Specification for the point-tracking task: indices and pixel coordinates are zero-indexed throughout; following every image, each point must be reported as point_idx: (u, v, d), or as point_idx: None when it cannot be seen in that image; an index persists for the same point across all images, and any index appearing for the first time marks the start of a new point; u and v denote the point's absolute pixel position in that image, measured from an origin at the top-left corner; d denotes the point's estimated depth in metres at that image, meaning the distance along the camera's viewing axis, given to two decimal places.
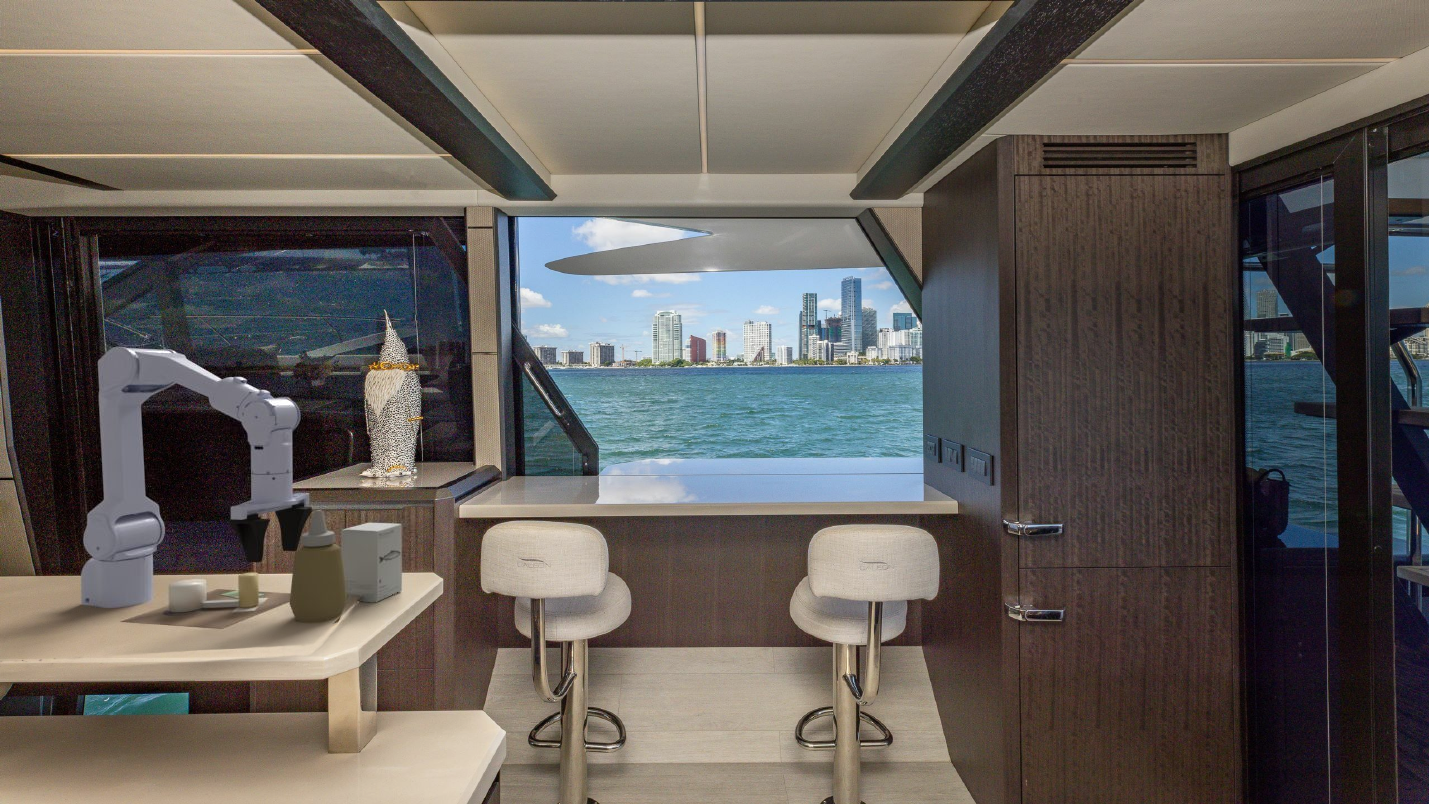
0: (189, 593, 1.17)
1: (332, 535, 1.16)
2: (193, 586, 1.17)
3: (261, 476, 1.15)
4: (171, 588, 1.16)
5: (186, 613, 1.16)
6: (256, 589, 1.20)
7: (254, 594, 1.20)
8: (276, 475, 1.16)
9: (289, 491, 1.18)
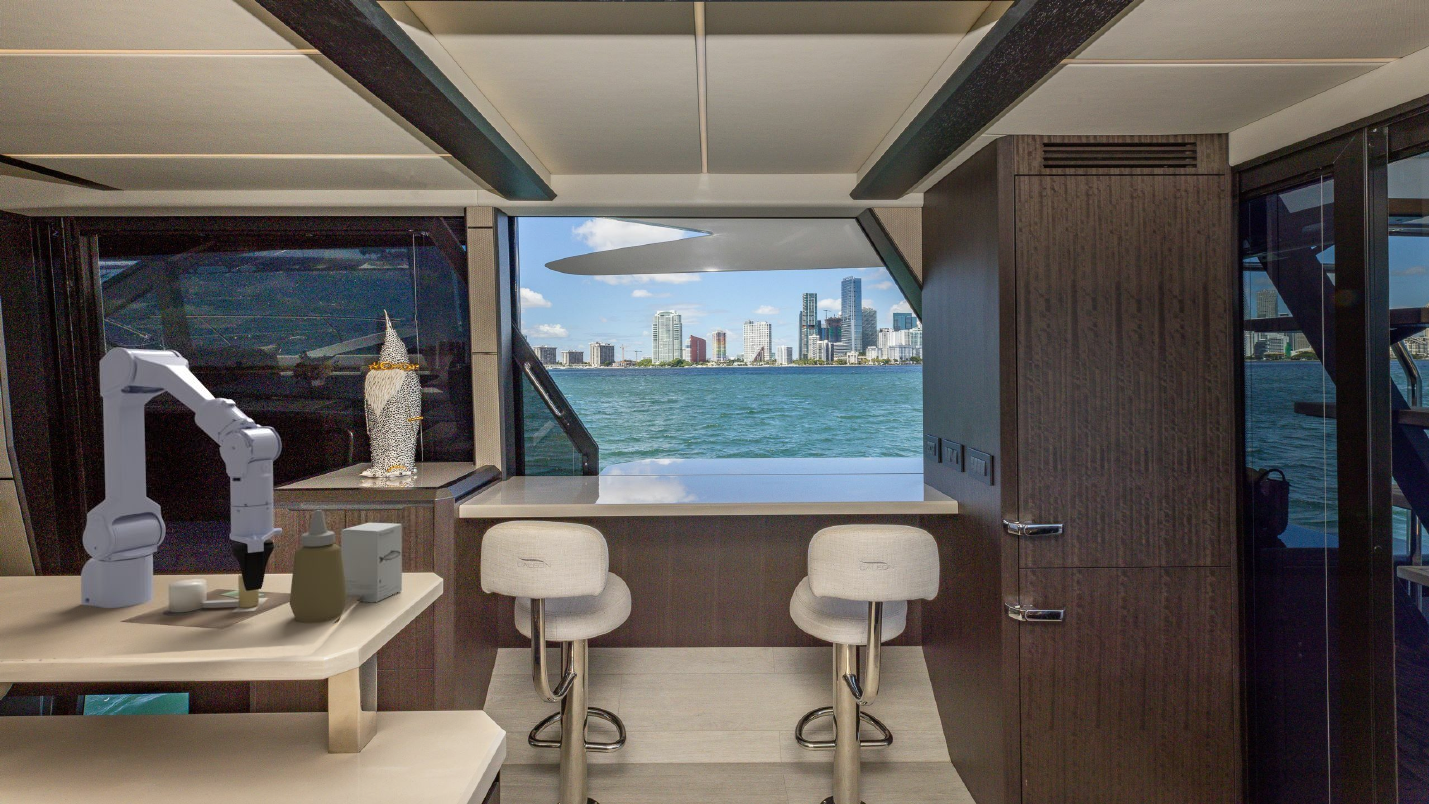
0: (189, 593, 1.17)
1: (332, 535, 1.16)
2: (193, 586, 1.17)
3: (257, 507, 1.14)
4: (171, 588, 1.16)
5: (186, 613, 1.16)
6: None
7: (254, 594, 1.20)
8: (270, 505, 1.15)
9: None
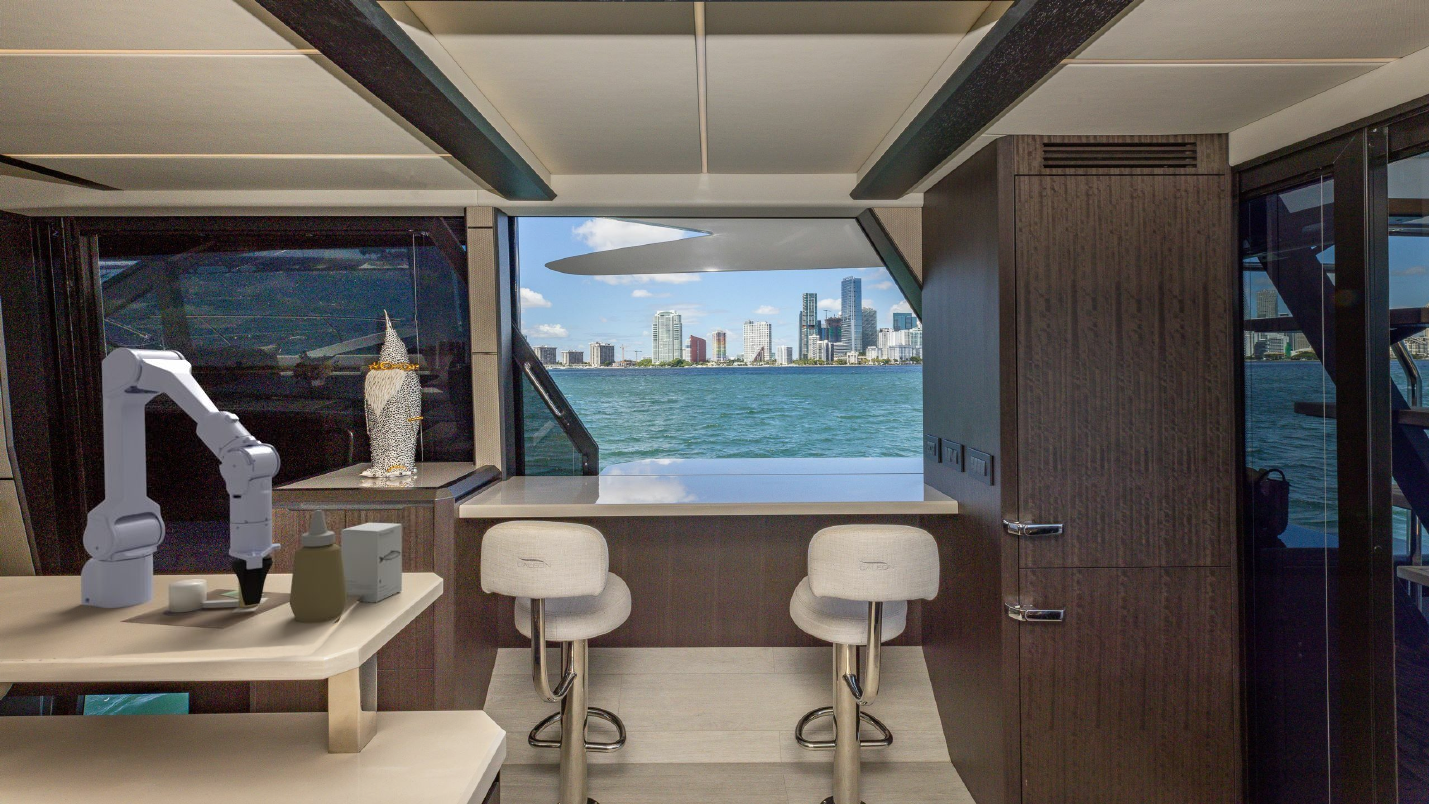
0: (189, 593, 1.17)
1: (332, 535, 1.16)
2: (193, 586, 1.17)
3: (255, 524, 1.16)
4: (171, 588, 1.16)
5: (186, 613, 1.16)
6: None
7: None
8: (268, 521, 1.18)
9: None
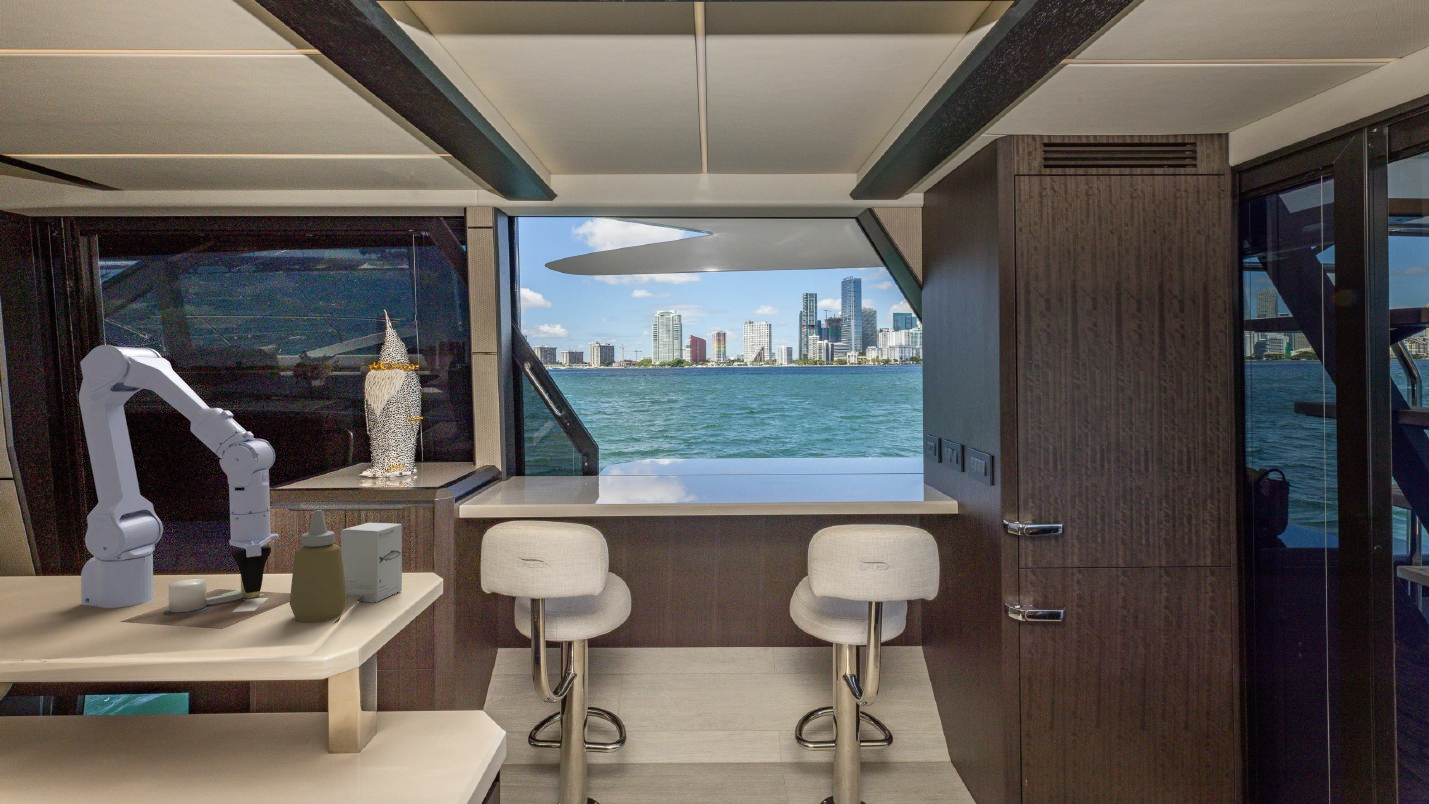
0: (201, 591, 1.18)
1: (332, 535, 1.16)
2: (203, 583, 1.19)
3: (254, 515, 1.22)
4: (181, 588, 1.16)
5: (186, 613, 1.16)
6: None
7: None
8: (266, 512, 1.23)
9: None
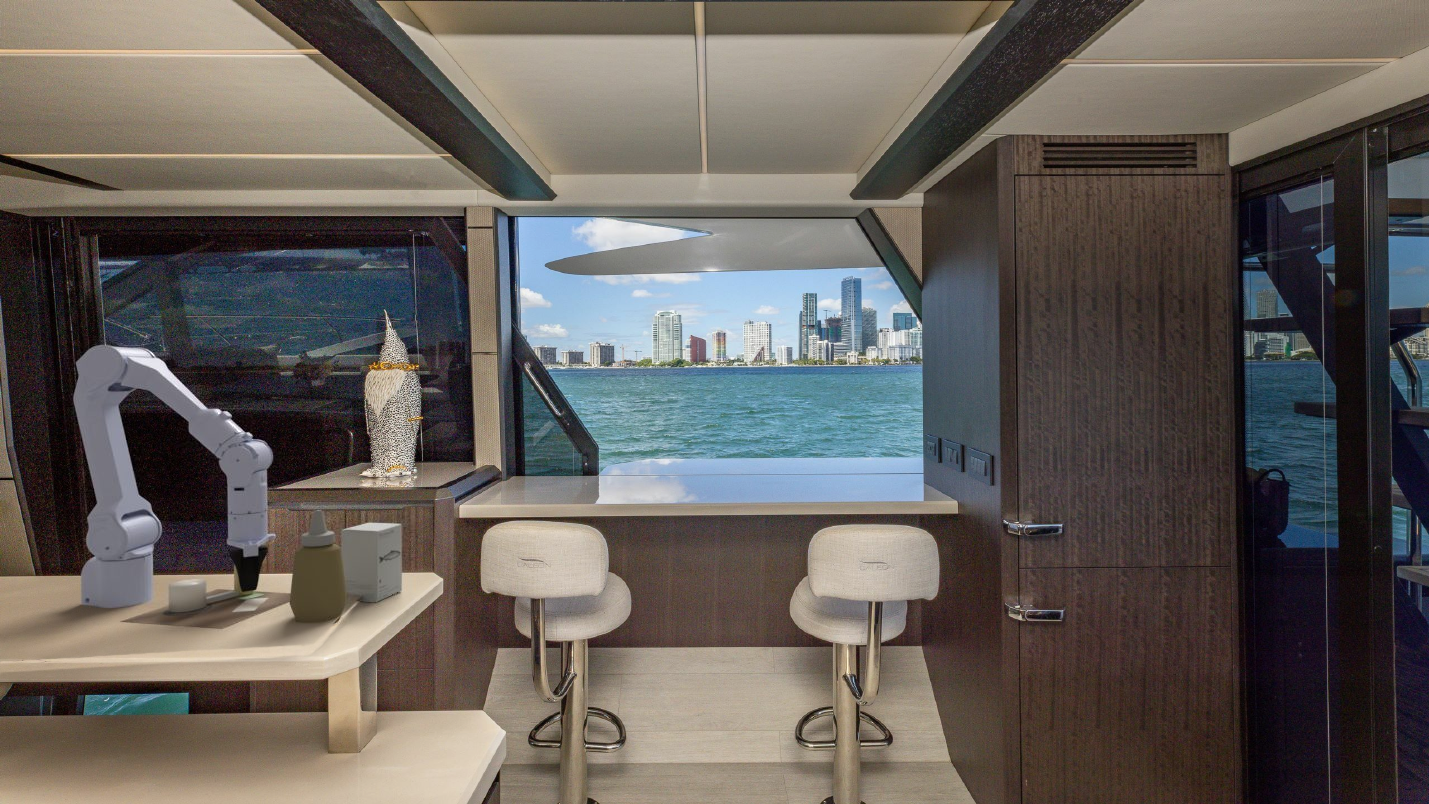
0: (204, 590, 1.19)
1: (332, 535, 1.16)
2: (205, 582, 1.19)
3: (252, 515, 1.23)
4: (186, 588, 1.17)
5: (186, 613, 1.16)
6: None
7: None
8: (264, 512, 1.25)
9: None
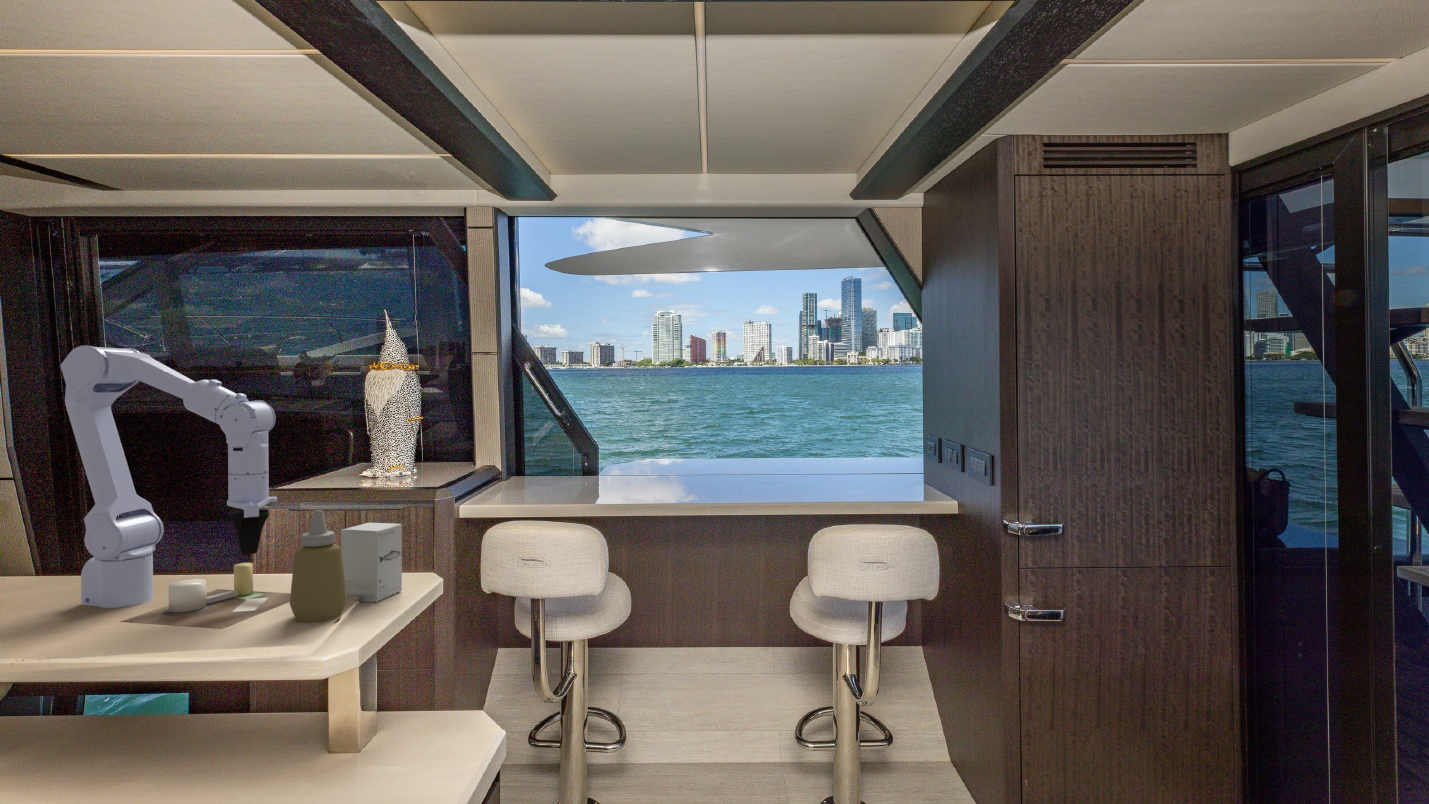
0: (204, 590, 1.19)
1: (332, 535, 1.16)
2: (205, 582, 1.19)
3: (253, 476, 1.20)
4: (186, 588, 1.17)
5: (186, 613, 1.16)
6: None
7: None
8: (265, 474, 1.22)
9: None
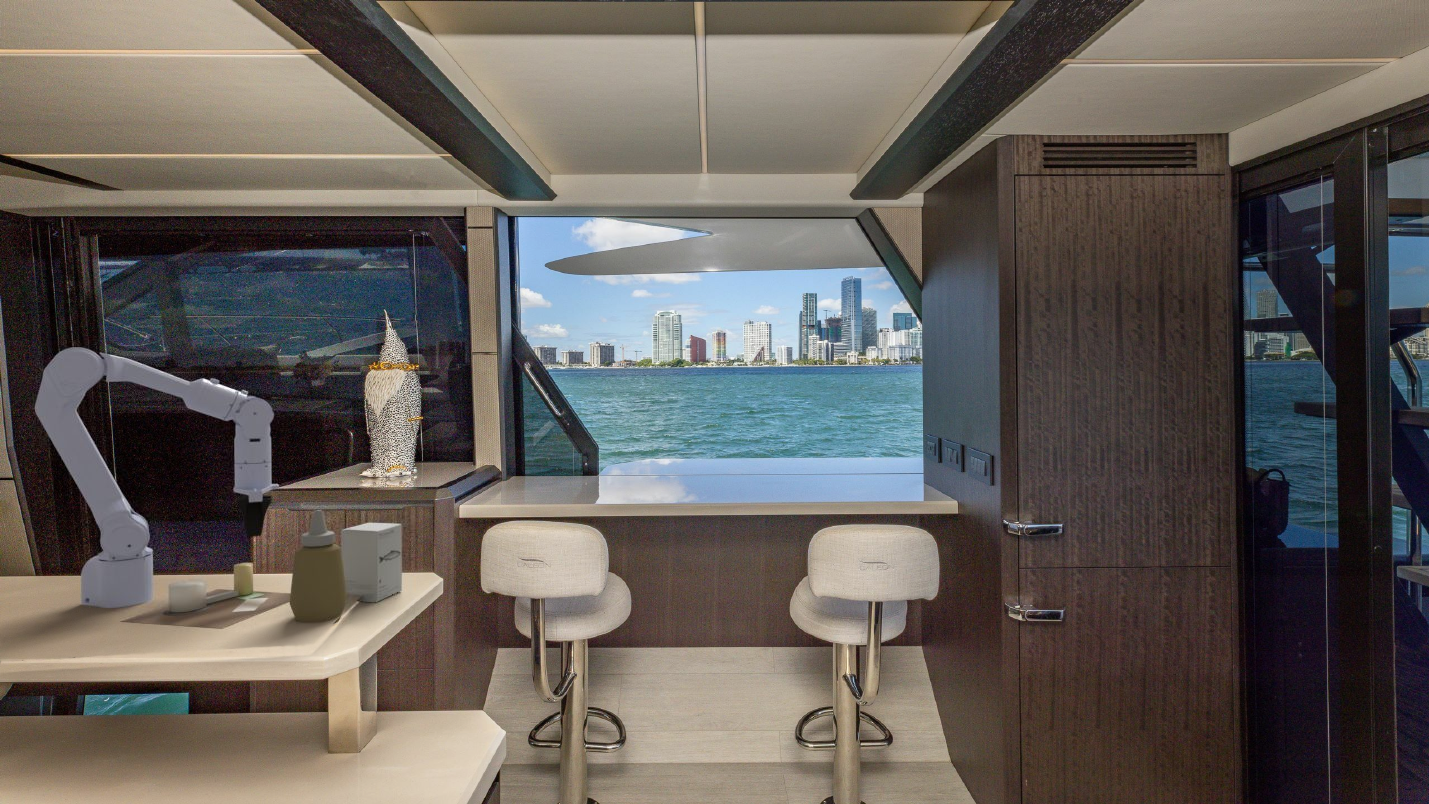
0: (204, 590, 1.19)
1: (332, 535, 1.16)
2: (205, 582, 1.19)
3: (257, 465, 1.32)
4: (186, 588, 1.17)
5: (186, 613, 1.16)
6: None
7: None
8: (268, 463, 1.34)
9: None
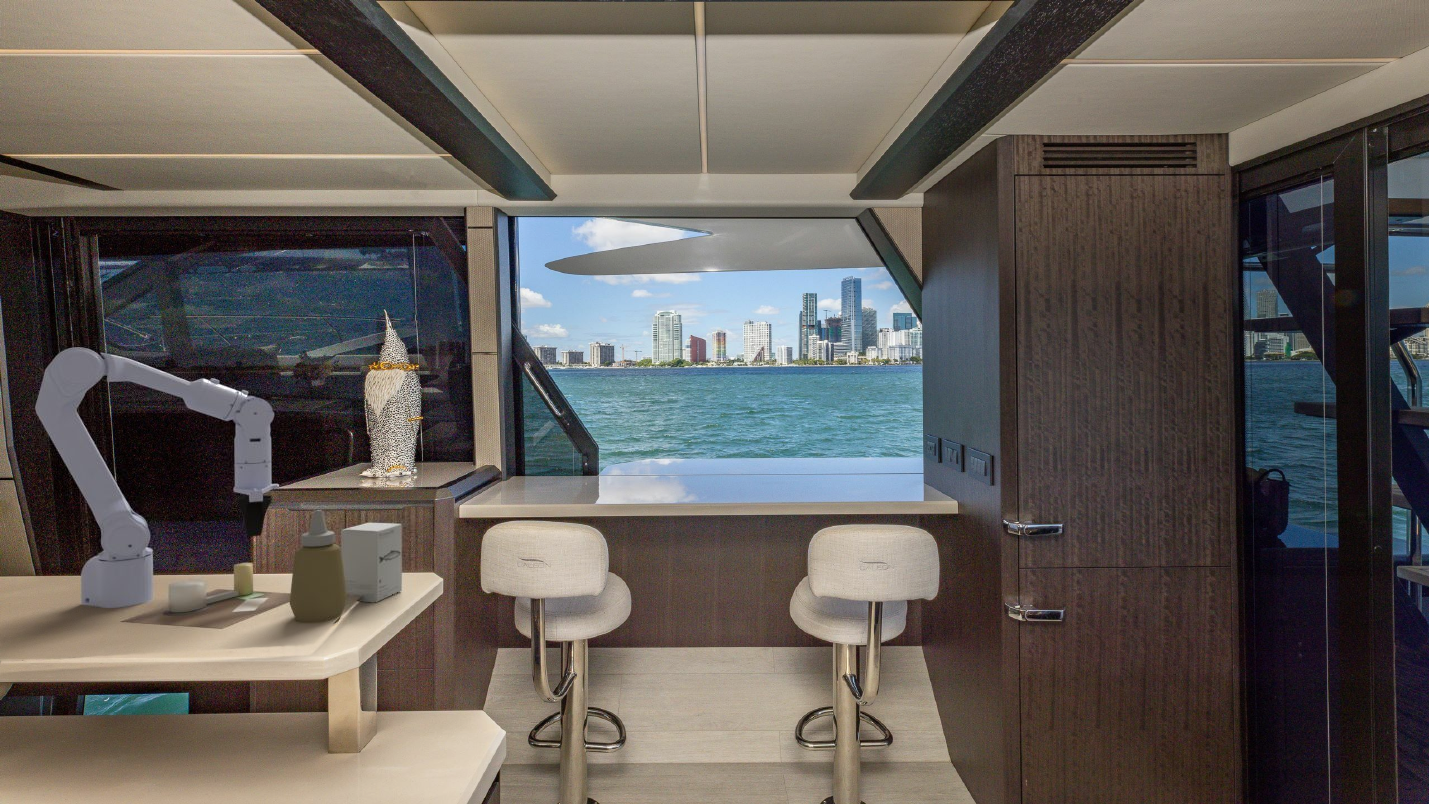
0: (204, 590, 1.19)
1: (332, 535, 1.16)
2: (205, 582, 1.19)
3: (257, 465, 1.32)
4: (186, 588, 1.17)
5: (186, 613, 1.16)
6: None
7: None
8: (268, 463, 1.34)
9: None
